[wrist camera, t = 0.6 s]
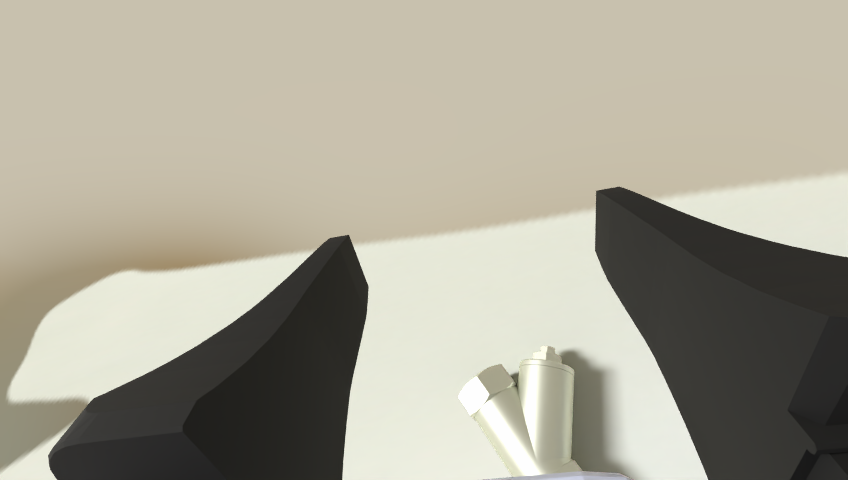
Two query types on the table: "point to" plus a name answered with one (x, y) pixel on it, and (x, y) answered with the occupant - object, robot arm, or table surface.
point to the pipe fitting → (526, 413)
